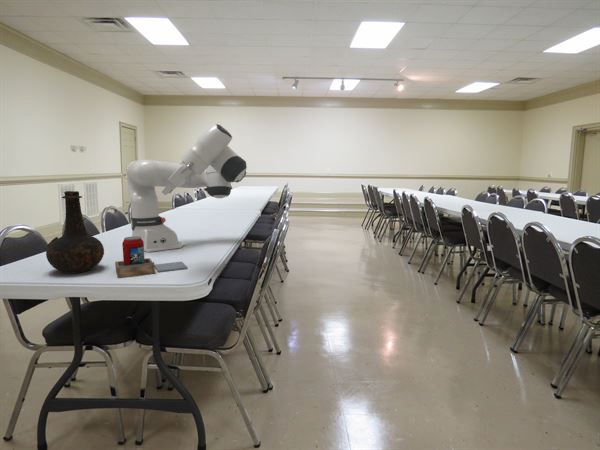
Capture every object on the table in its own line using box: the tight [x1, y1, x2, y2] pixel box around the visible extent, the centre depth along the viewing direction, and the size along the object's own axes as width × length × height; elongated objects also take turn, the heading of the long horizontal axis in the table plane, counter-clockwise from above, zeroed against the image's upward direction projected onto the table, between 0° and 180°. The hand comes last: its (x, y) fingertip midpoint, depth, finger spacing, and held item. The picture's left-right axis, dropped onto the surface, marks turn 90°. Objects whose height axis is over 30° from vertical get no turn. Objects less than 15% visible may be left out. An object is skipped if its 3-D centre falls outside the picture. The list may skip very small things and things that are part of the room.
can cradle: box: [114, 257, 156, 278], centre depth 140 cm, size 12×12×4 cm
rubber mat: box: [154, 261, 189, 273], centre depth 146 cm, size 10×10×1 cm
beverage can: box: [122, 236, 146, 266], centre depth 140 cm, size 7×7×12 cm
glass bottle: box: [45, 190, 105, 274], centre depth 141 cm, size 18×18×28 cm
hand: (165, 192), depth 139 cm, fingers open, 8 cm apart
